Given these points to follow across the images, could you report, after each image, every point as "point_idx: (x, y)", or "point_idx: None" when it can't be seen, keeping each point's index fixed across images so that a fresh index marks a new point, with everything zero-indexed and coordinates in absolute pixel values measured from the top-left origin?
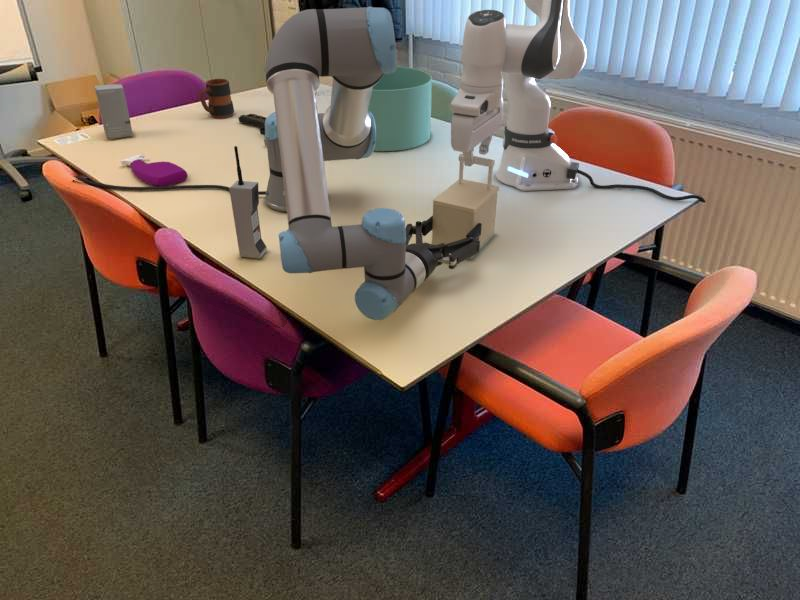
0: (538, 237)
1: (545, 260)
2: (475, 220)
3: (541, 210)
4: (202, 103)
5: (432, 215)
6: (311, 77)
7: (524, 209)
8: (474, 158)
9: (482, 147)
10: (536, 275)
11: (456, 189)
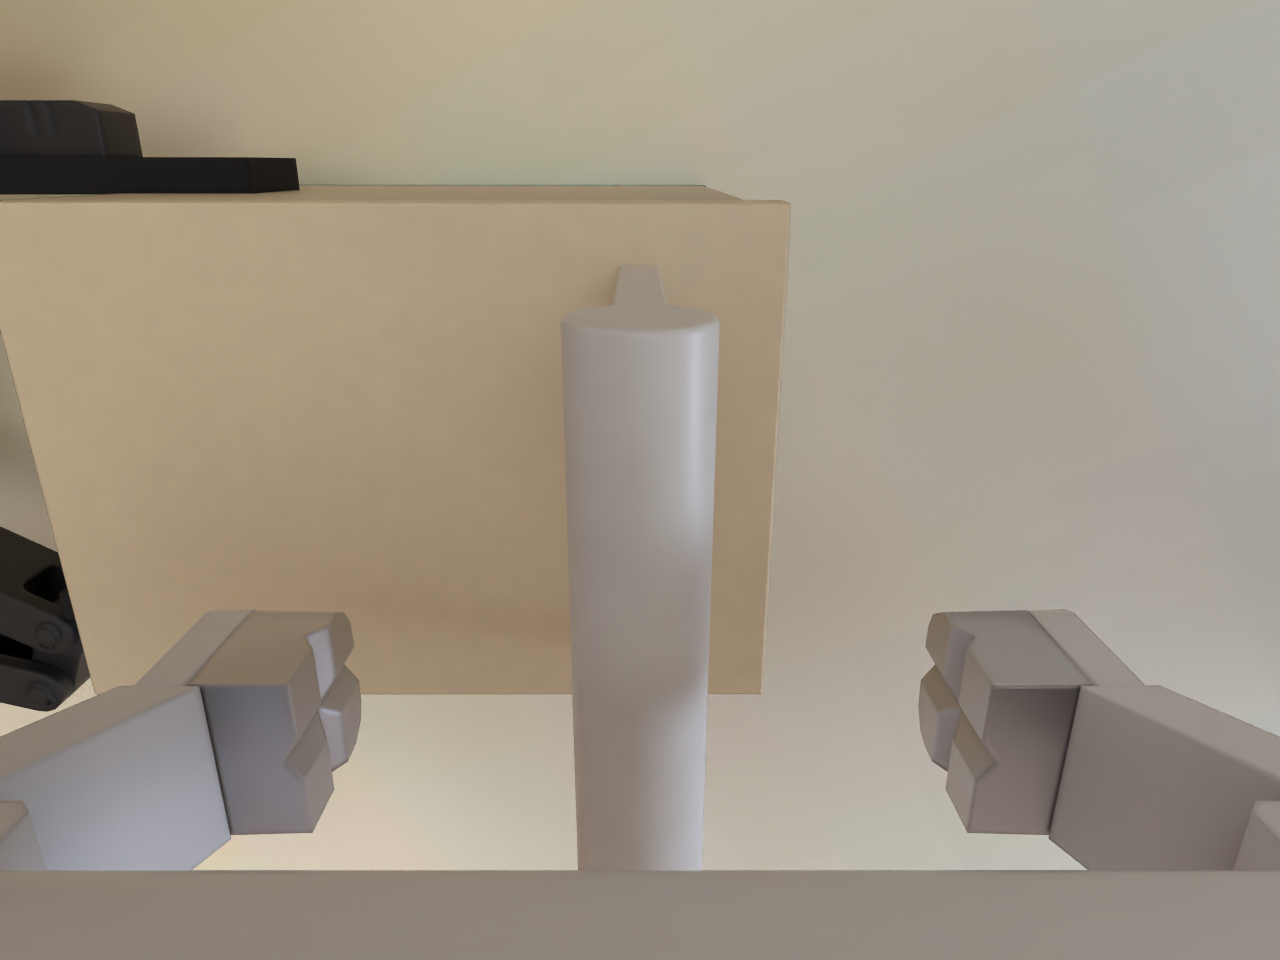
0: (801, 721)
1: (550, 823)
2: None
3: (1208, 625)
4: None
5: (177, 157)
6: None
7: (1191, 524)
8: (317, 809)
9: (980, 738)
10: (373, 831)
11: (431, 323)
